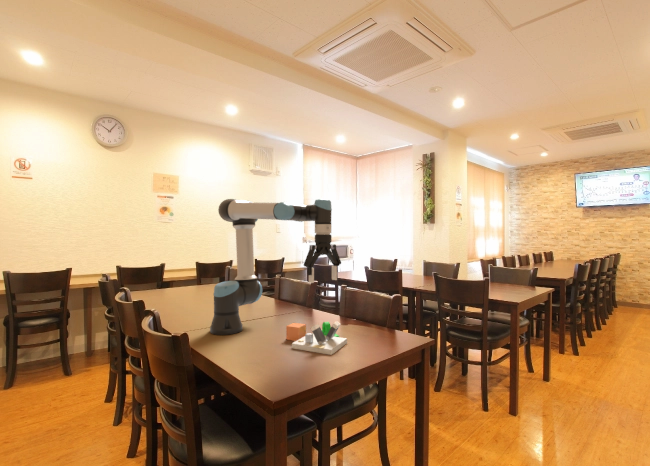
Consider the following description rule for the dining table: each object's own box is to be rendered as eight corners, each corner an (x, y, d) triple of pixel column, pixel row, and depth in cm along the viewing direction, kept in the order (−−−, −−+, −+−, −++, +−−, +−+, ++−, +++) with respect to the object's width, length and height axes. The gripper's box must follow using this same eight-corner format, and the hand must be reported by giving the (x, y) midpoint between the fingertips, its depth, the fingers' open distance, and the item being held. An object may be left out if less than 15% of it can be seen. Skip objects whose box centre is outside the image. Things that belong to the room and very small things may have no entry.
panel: (291, 348, 139) (291, 343, 139) (310, 337, 154) (310, 332, 154) (330, 355, 131) (330, 349, 131) (347, 343, 146) (347, 337, 146)
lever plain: (324, 338, 143) (333, 323, 141) (329, 335, 147) (337, 320, 145) (328, 341, 142) (337, 326, 141) (332, 338, 146) (341, 323, 145)
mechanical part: (339, 340, 151) (339, 322, 152) (326, 341, 149) (326, 323, 149) (328, 333, 163) (328, 316, 163) (317, 334, 160) (317, 317, 160)
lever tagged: (318, 345, 136) (309, 327, 138) (323, 342, 140) (315, 325, 142) (322, 343, 136) (313, 325, 137) (327, 340, 140) (318, 323, 141)
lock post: (305, 342, 140) (305, 334, 140) (308, 341, 142) (308, 332, 142) (310, 343, 139) (310, 335, 139) (313, 342, 141) (313, 333, 141)
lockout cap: (286, 339, 151) (286, 326, 151) (293, 335, 157) (293, 322, 157) (298, 341, 149) (298, 327, 149) (306, 337, 154) (305, 324, 154)
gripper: (306, 234, 142) (306, 284, 142) (348, 233, 158) (348, 279, 158) (295, 234, 148) (295, 282, 147) (337, 233, 164) (337, 278, 164)
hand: (323, 281), depth 153 cm, fingers open, 13 cm apart
